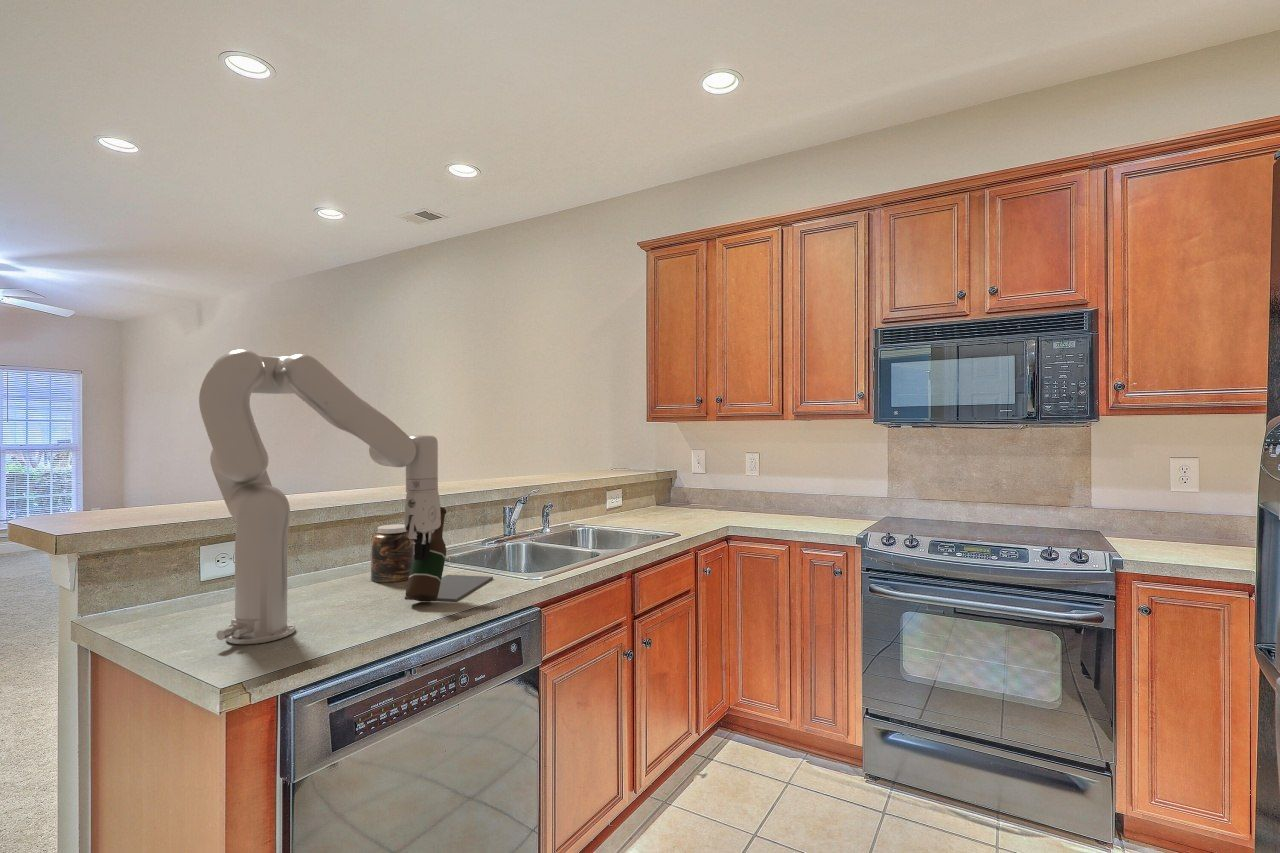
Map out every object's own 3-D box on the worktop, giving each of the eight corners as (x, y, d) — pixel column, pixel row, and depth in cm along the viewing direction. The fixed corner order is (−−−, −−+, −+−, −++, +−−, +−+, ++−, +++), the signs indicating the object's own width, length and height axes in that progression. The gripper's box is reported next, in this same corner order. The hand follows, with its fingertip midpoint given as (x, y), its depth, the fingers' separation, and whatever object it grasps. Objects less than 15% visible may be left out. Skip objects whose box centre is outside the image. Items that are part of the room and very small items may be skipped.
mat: (456, 601, 159) (456, 599, 159) (404, 598, 161) (404, 596, 161) (492, 578, 183) (492, 576, 183) (447, 576, 185) (447, 574, 185)
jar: (376, 574, 188) (376, 523, 188) (417, 572, 190) (417, 522, 190) (366, 583, 177) (366, 530, 177) (410, 582, 179) (410, 529, 179)
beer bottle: (443, 600, 157) (460, 512, 170) (422, 591, 151) (441, 500, 164) (419, 603, 160) (437, 516, 173) (397, 594, 154) (418, 505, 167)
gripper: (420, 488, 148) (420, 566, 148) (450, 482, 162) (450, 553, 163) (391, 488, 149) (391, 565, 149) (423, 482, 164) (423, 552, 164)
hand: (422, 559), depth 156 cm, fingers closed
